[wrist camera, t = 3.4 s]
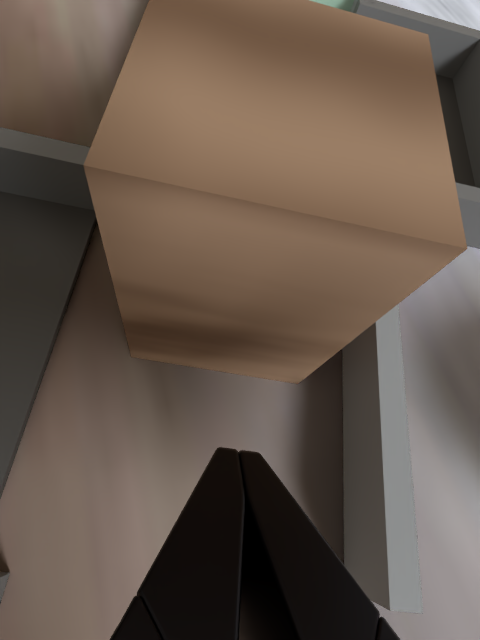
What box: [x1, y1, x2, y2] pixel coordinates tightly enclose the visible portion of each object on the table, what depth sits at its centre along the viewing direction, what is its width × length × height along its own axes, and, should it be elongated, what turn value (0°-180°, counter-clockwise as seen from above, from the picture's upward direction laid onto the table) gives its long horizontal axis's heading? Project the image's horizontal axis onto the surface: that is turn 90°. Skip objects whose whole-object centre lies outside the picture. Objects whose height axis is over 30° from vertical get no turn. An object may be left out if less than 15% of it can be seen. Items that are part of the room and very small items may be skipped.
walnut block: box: [83, 0, 467, 384], centre depth 14 cm, size 14×7×10 cm, turn 173°
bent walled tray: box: [0, 0, 480, 614], centre depth 18 cm, size 36×30×3 cm
